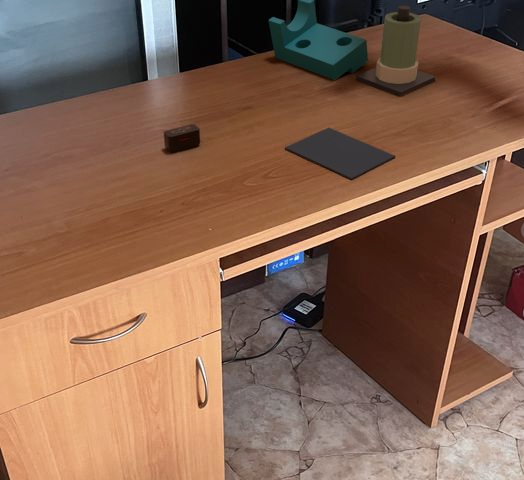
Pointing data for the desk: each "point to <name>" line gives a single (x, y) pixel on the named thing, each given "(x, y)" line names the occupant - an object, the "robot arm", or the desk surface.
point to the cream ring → (396, 73)
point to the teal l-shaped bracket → (316, 44)
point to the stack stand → (392, 88)
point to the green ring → (400, 41)
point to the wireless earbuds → (182, 138)
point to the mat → (340, 153)
